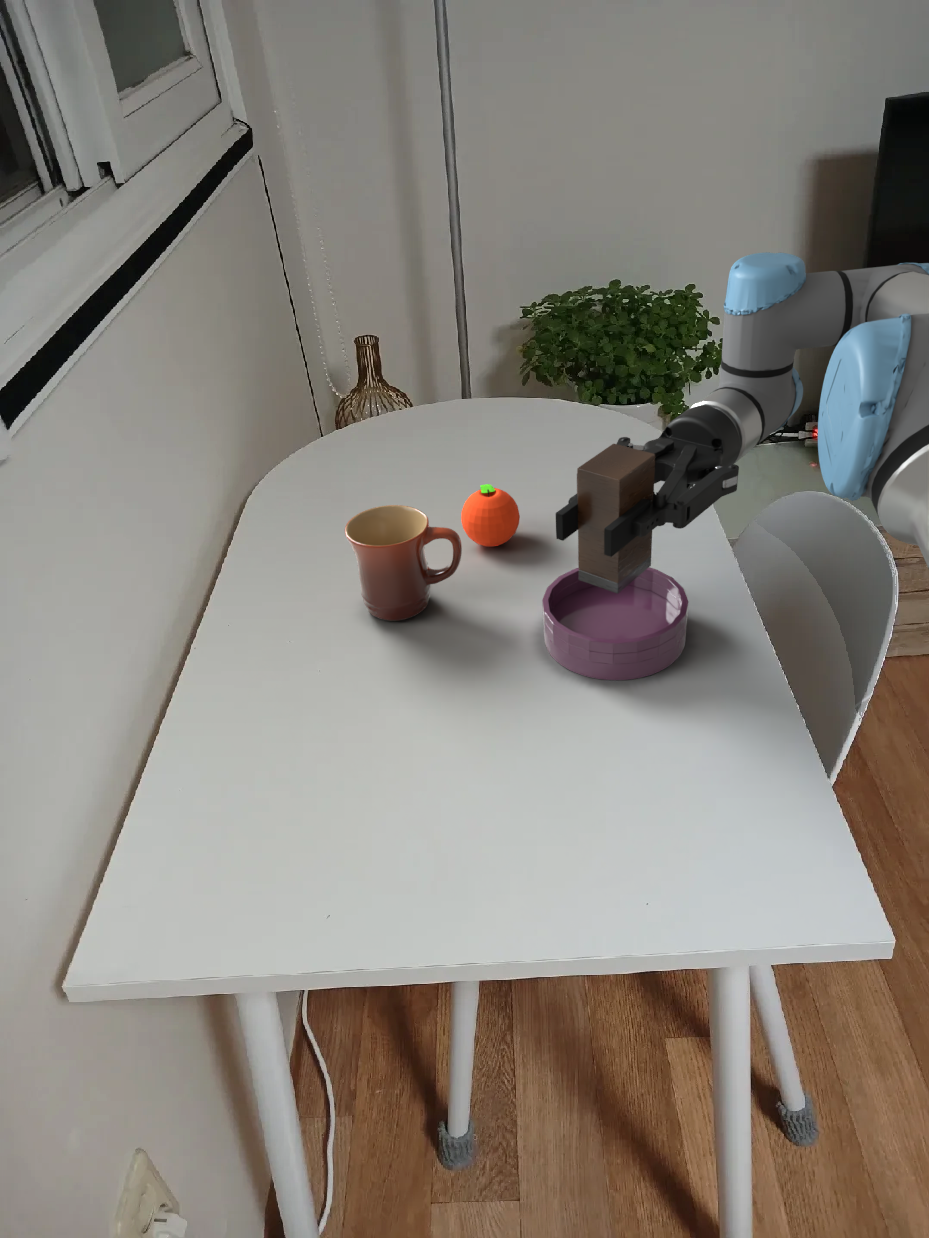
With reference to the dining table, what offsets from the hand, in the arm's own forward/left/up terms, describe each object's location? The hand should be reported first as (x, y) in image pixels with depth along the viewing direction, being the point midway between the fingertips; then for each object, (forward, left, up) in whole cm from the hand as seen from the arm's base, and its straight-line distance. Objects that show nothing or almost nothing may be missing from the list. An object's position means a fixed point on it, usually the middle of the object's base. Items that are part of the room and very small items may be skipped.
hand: (583, 534), depth 86 cm
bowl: (+1, -5, -15) cm, 16 cm away
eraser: (+1, -5, -7) cm, 9 cm away
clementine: (+25, -8, -15) cm, 30 cm away
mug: (+20, +7, -15) cm, 26 cm away
